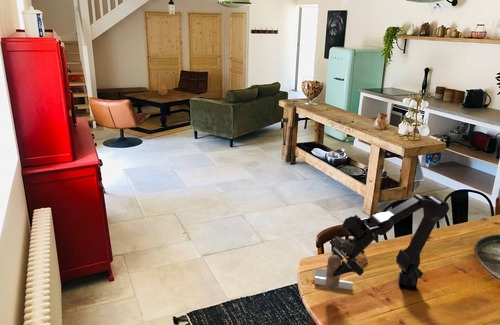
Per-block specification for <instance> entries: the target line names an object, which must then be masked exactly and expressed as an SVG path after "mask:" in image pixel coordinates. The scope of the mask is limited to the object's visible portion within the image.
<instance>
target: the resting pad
mask: <svg viewBox="0 0 500 325" xmlns="http://www.w3.org/2000/svg"><path fill="white" fill-rule="evenodd" d="M326 274H327V269H322V268H315V271H314V277H313V279H314V280H315V276H317V277H324V278H326Z"/></svg>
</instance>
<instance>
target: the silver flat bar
mask: <svg viewBox="0 0 500 325" xmlns="http://www.w3.org/2000/svg"><path fill="white" fill-rule="evenodd" d="M314 277H315V279H314V285H321V286H325V287H326V278H324V277H317V276H315V275H314ZM353 286H354V282H353V281H348V280H342V279H340V280H339V288H338V289H345V290H351V291H353Z"/></svg>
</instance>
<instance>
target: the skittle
mask: <svg viewBox="0 0 500 325" xmlns="http://www.w3.org/2000/svg"><path fill="white" fill-rule="evenodd" d="M341 264H342V260H341V259H340V257H339V256H337V255H332V254H331V255H330V256H328V258H327V265H326V266H327V267H326V270H327V274H326V286H325V287H326V289H328V290H330V291H336V290H338V289H340V288H339V280H341V279H340V277H341V275H339V276H336V277H334V276H333V273H334V272H335V271H336V270H337V269H338V268H339V267H340V266H341Z"/></svg>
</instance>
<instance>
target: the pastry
mask: <svg viewBox="0 0 500 325" xmlns="http://www.w3.org/2000/svg"><path fill="white" fill-rule="evenodd" d="M366 255H367V254H365V253H364V254H362V253H360V254H359V255H358V256H357V257H356V259H357V261H356V262H357V263H358V264H360V266H361V267H362V266H364V265H366V264H367V263H368V257H367V256H366ZM363 264H364V265H363Z"/></svg>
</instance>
